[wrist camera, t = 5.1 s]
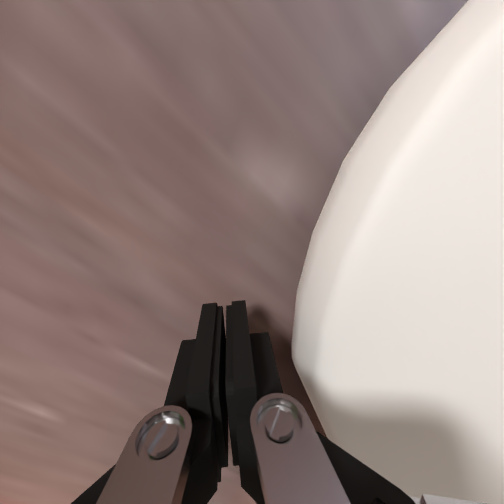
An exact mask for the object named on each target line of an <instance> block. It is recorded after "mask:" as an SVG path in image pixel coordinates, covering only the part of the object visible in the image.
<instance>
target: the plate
mask: <svg viewBox="0 0 504 504" xmlns="http://www.w3.org/2000/svg"><path fill="white" fill-rule="evenodd" d="M291 351H292V360H293V363H294V366H295V368H296V371H297V373H298V375H299V377H300V379H301V381H302V384H303V386H304V388H305V390H306V392H307V395H308V397H309V399H310V401H311V403H312V405H313V408H314V410H315V412H316V414H317V416H318V419H319V421H320V423H321V425H322V427H323V429H324V432H325V434H326V436H327V438H328V439H329V440H330V441H332V442H333V443H335V444H336V445H337V446H339V447H340V448H342V449H343V450H345V451H346V452H348V453H349V454H350V455H352V456H353V457H355V458H356V459H358V460H359V461H361V462H362V463H363V464H365V465H366V466H368V467H369V468H371V469H372V470H374V471H375V472H377V473H378V474H379V475H381V476H382V477H384V478H385V479H387V480H388V481H390V482H391V483H392V484H394V485H395V486H397V487H398V488H400V489H401V490H402V491H403V492H404V493H406V494H407V495H408V496H409V497H416V498H421V497H422V494H428V495H435V496H441V497H448V498H454V499H461V500H467V501H474V502H480V503H487V504H504V0H468V1H467V3H466V4H465V5H464V6H463V7H462V8H461V9H460V10H459V11H458V13H457V14H456V15H455V16H454V17H453V18H452V19H451V20H450V21H449V23H448V24H447V25H446V26H445V27H444V28H443V29H442V30H441V31H440V33H439V34H438V35H437V36H436V37H435V38H434V39H433V40H432V41H431V43H430V44H429V45H428V46H427V47H426V48H425V49H424V50H423V52H422V53H421V54H420V55H419V56H418V57H417V58H416V59H415V60H414V62H413V63H412V64H411V65H410V66H409V67H408V68H407V69H406V70H405V72H404V73H403V74H402V75H401V76H400V77H399V78H398V79H397V80H396V82H395V83H394V84H393V85H392V86H391V87H390V89H389V90H388V92H387V93H386V95H385V96H384V98H383V99H382V101H381V103H380V104H379V106H378V107H377V109H376V110H375V112H374V113H373V115H372V117H371V118H370V120H369V121H368V123H367V124H366V126H365V127H364V129H363V131H362V132H361V134H360V135H359V137H358V138H357V140H356V141H355V143H354V145H353V146H352V148H351V149H350V151H349V152H348V154H347V155H346V157H345V159H344V160H343V163H342V165H341V167H340V170H339V172H338V174H337V177H336V179H335V181H334V184H333V186H332V188H331V191H330V193H329V195H328V198H327V200H326V202H325V205H324V207H323V209H322V212H321V214H320V216H319V219H318V221H317V223H316V226H315V228H314V230H313V233H312V237H311V240H310V244H309V248H308V252H307V255H306V259H305V263H304V267H303V270H302V274H301V278H300V281H299V285H298V289H297V295H296V305H295V315H294V325H293V334H292V344H291Z"/></svg>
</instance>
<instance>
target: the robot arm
mask: <svg viewBox="0 0 504 504" xmlns="http://www.w3.org/2000/svg"><path fill="white" fill-rule="evenodd" d="M228 419H229V428H230V438H231V447H232V456H233V465H234V466H236V465H239V467H240V478H241V487H242V488H243V489H244V490H245V491H246V492H247V493H248V494H249V495H250V496H251V497H252V498H253V499H254V500H255V501H256V504H487V503H480V502H474V501H467V500H461V499H454V498H448V497H441V496H435V495H428V494H422V497H421V498H416V497H409V496H408V495H407V494H406V493H404V492H403V491H402V490H401V489H400V488H398V487H397V486H395V485H394V484H392V483H391V482H390V481H388V480H387V479H385V478H384V477H382V476H381V475H379V474H378V473H377V472H375V471H374V470H372V469H371V468H369V467H368V466H366V465H365V464H363V463H362V462H361V461H359V460H358V459H356V458H355V457H353V456H352V455H350V454H349V453H348V452H346V451H345V450H343V449H342V448H340V447H339V446H337V445H336V444H335V443H333V442H332V441H330V440H329V439H327V438H326V437H324V436H323V435H321V434H320V433H319V432H317V431H316V430H315V429H314V426H313V424H312V422H311V420H310V418H309V416H308V414H307V412H306V410H305V409H304V407H303V406H302V404H301V403H300V402H298V401H297V400H296V399H295V398H293V397H291V396H289V395H287V394H283V391H282V387H281V383H280V379H279V375H278V371H277V367H276V363H275V358H274V354H273V350H272V346H271V342H270V338H269V334H268V332H264V333H254V334H249V326H248V318H247V311H246V303H245V300H244V301H233V302H232V305H229V306H227V310H226V336H225V326H224V316H223V307H222V306H217V303H210V304H203V305H202V310H201V315H200V321H199V326H198V331H197V336H196V339H192V340H183V341H182V342H181V345H180V349H179V353H178V356H177V360H176V364H175V367H174V371H173V374H172V378H171V382H170V385H169V389H168V393H167V396H166V400H165V404H164V406H163V407H161V408H158V409H155V410H154V411H152V412H151V413H149V414H148V415H146V416H145V417H144V418H143V419H142V420H141V421H140V422H139V423H138V424H137V426H136V427H135V429H134V430H133V432H132V434H131V436H130V438H129V439H128V441H127V443H126V445H125V447H124V449H123V451H122V453H121V455H120V457H119V459H118V461H117V463H116V464H115V465H114V466H113V467H112V468H111V469H110V470H109V471H107V472H106V473H105V474H104V475H103V476H102V477H101V478H99V479H98V480H97V481H96V482H95V483H94V484H93V485H92V486H90V487H89V488H88V489H87V490H86V491H85V492H84V493H82V494H81V495H80V496H79V497H78V498H77V499H76V500H75V501H73V502H72V503H71V504H207V503H208V502H209V500H210V499H211V498H212V496H213V495H214V493H215V492H216V491H217V482H221V468H222V467H228Z"/></svg>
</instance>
